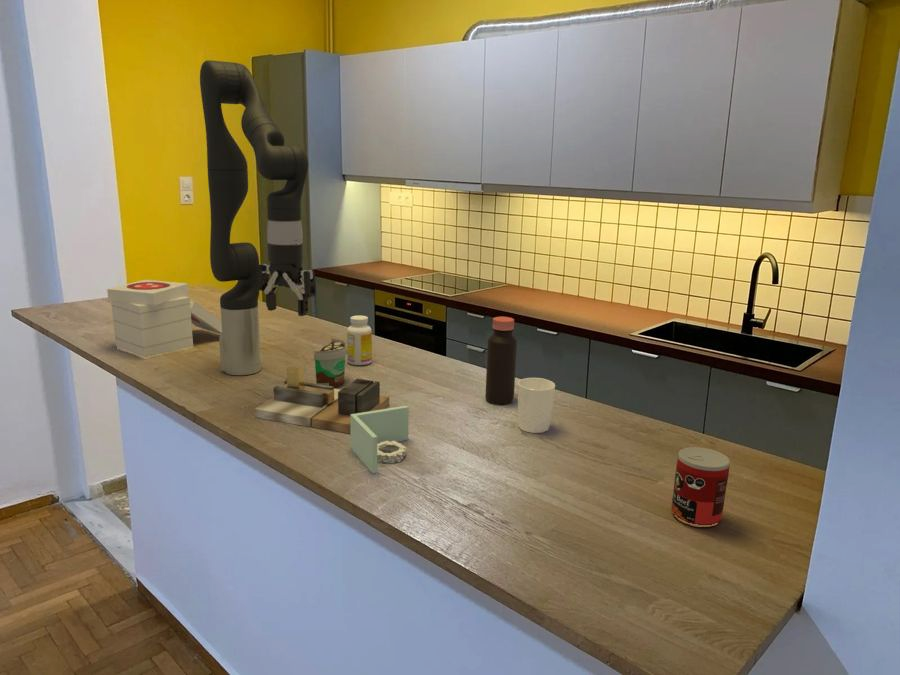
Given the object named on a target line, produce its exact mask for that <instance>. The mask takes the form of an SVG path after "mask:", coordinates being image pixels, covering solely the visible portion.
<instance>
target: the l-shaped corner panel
mask: <svg viewBox="0 0 900 675" xmlns="http://www.w3.org/2000/svg"><path fill="white" fill-rule="evenodd" d="M409 409H410V408H409V406H408V405H402V406H401V405H400V406H396V407H387V408H385V409H381V410H375V411H369V412H362V413H356V414H350V424H351V434H350V449H351V451H353V452H354V454H355V455H356V456H357V457H358V458H359V459H360V460H361V461H362V463H363V464H364V465H365V467H367V468H368V469H369V471H370V472H371V473H372V474H376V473H378V464H379V463H381V464H382V463H386V464H387V463H388V464H395V463H401V461H402V460H403V459H404V457H405V456H407V455H406V454H407V451H408V449H407V447H406V446H405V445H403V444H402V443H401V442H402V441H403V440H404V441H408V440H409ZM389 451H392V452H389Z"/></svg>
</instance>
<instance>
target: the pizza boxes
mask: <svg viewBox="0 0 900 675" xmlns="http://www.w3.org/2000/svg"><path fill="white" fill-rule="evenodd" d="M106 290H107V298H108V301H109V302H110V304H111V312H112V319H113V320H112V321H113V330H114V340H115V347H116V346H117V347H119V348H122V349H125V350H127V351H130V352H133V353H135V354H138V355H140V356H143V357H148V356H152V355H156V354H160V353H165V352H170V351H174V350H178V349H182V348H186V347H191V346H193V347H194V341H193V340H194V339H193V329H192V328H193V326H192V325H194V326H195V327H197V328H199V329H203V330H207V331H210V332H212V333H217V334H220V335H222V322H221V317H220V318H219V317H218V316H217V315H215V314H214V313H213V312H211V311H210V310H208V309H207V308H205V307H204V306H203V305H201V304H200V303H198V302H196V301H194V300H191V299H190V297H189V295H190V286H189V283H186V282H175V281H174V282H172V281H165V280H164V281H162V280H154V279H143V280H137V281H135V282H130V283H126V284H122V285H118V286H114V287H110V288H107V289H106Z"/></svg>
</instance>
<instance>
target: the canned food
mask: <svg viewBox="0 0 900 675" xmlns="http://www.w3.org/2000/svg"><path fill="white" fill-rule="evenodd" d="M730 467H731V460H730V458H729V457H728V456H727V455H725V453H722V452H720V451H717V450H715V449H712V448H711V449H710V448H706V447H700V446H698V447H697V446H692V447H691V446H690V447H686V448H682V449H680V450H679V451H678V455H677V460H676V466H675V475H674V476H675V477H674V484H673V493H672V500H671V505H670V506H671V513H672V512H673V513H674V515H676V516H677V517H678V518H680V519H682V520H684V521H686V522H688V523H692V524H698V525H712V524H715V523H718V522H719V521H720V522H721V520H722V518H723V511H724V505H725V498H726V493H727V487H728V480H729V476H730V475H729V473H730ZM720 522H719V523H720Z"/></svg>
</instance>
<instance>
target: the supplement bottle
mask: <svg viewBox="0 0 900 675" xmlns="http://www.w3.org/2000/svg"><path fill="white" fill-rule="evenodd" d="M349 319H350V320H349V322H350V323H351V324H350V325H349V326H348V328H347V329H346V340H347V341H346V342H347V344H346V345H347V348H348V354H347V355H346V356H347V363H348V364H350V365H352V366H357V367H358V366H366V365H369V364H371V363H372V361H373V342H372V341H373V338H372V336H373V335H372V334H373V333H372V328H371V327H370V325H368V322H369V317H368V316H367V315H352V316H351V317H350V318H349Z"/></svg>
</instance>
